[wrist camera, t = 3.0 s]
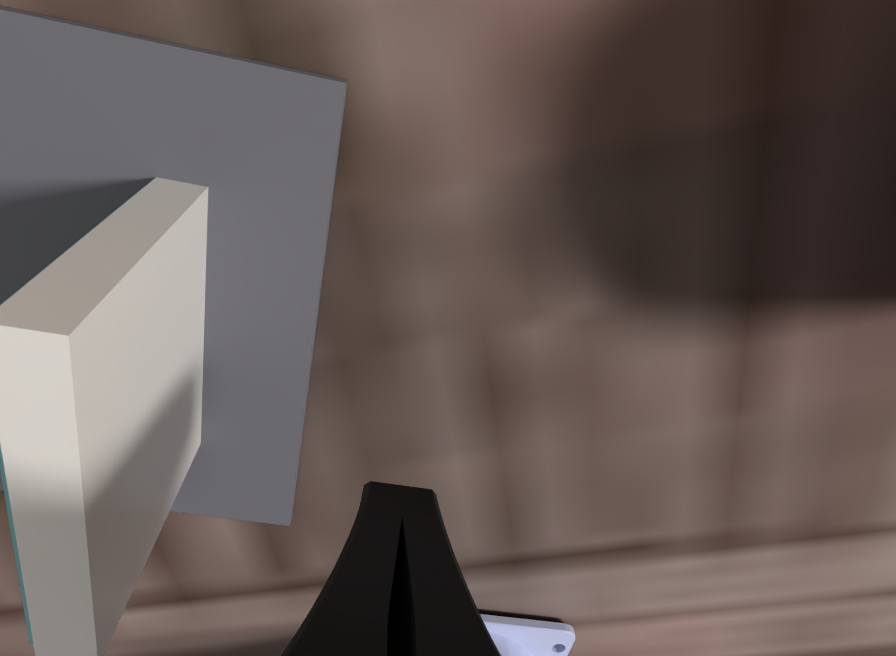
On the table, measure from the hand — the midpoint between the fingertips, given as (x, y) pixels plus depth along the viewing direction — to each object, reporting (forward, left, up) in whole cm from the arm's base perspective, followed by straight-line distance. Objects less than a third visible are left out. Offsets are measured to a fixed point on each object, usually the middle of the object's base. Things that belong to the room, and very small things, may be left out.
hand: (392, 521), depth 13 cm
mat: (0, +9, -6) cm, 11 cm away
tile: (0, +6, -6) cm, 8 cm away
